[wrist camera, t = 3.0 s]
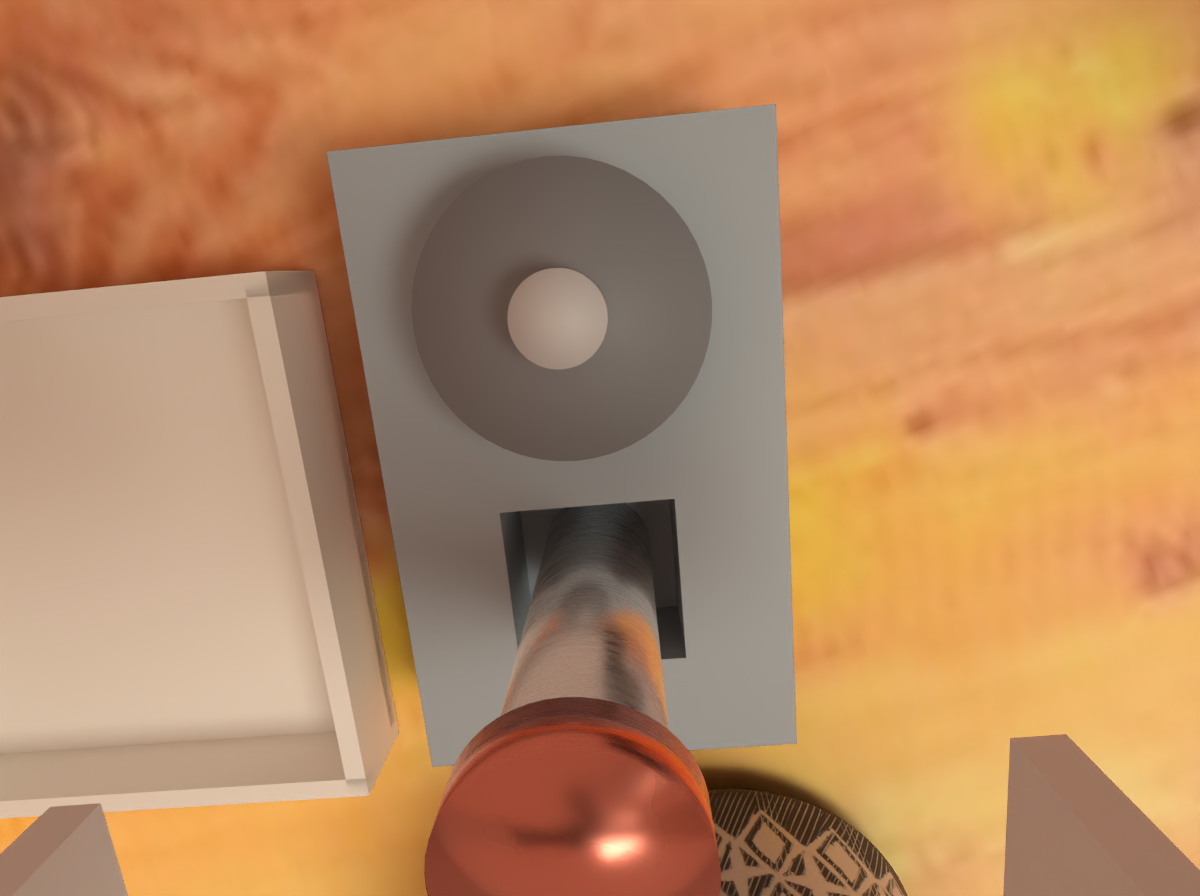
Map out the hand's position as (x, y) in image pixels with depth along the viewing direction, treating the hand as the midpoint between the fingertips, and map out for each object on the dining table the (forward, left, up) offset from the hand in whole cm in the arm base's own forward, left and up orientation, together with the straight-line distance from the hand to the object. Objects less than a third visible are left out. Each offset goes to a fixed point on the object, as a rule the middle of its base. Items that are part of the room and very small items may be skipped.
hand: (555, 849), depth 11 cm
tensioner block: (-3, 0, -13) cm, 13 cm away
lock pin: (0, 0, -12) cm, 12 cm away
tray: (-1, -15, -13) cm, 19 cm away
